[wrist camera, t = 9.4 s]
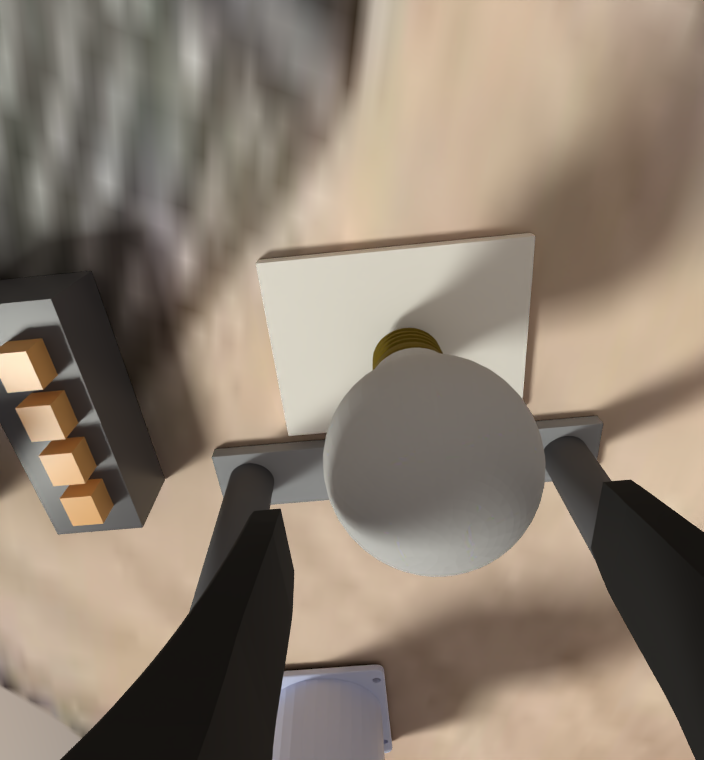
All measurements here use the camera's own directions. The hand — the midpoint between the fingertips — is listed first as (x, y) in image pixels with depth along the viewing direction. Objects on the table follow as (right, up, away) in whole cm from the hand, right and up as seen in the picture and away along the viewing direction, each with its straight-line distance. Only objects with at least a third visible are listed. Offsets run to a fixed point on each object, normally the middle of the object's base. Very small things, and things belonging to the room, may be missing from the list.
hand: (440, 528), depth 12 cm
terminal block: (-13, +3, +10) cm, 17 cm away
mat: (0, +5, +9) cm, 10 cm away
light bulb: (0, +5, +9) cm, 10 cm away
